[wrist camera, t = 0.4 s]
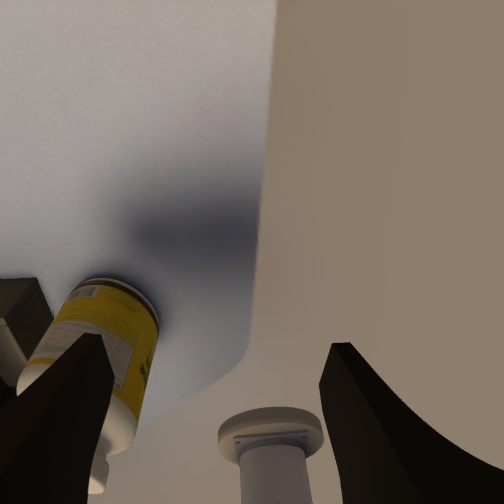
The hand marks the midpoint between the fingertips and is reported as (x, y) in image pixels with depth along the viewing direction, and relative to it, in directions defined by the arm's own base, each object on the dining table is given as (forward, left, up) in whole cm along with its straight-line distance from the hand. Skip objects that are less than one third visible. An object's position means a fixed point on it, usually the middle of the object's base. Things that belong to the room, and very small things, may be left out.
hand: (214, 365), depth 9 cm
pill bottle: (-5, +8, -9) cm, 13 cm away
